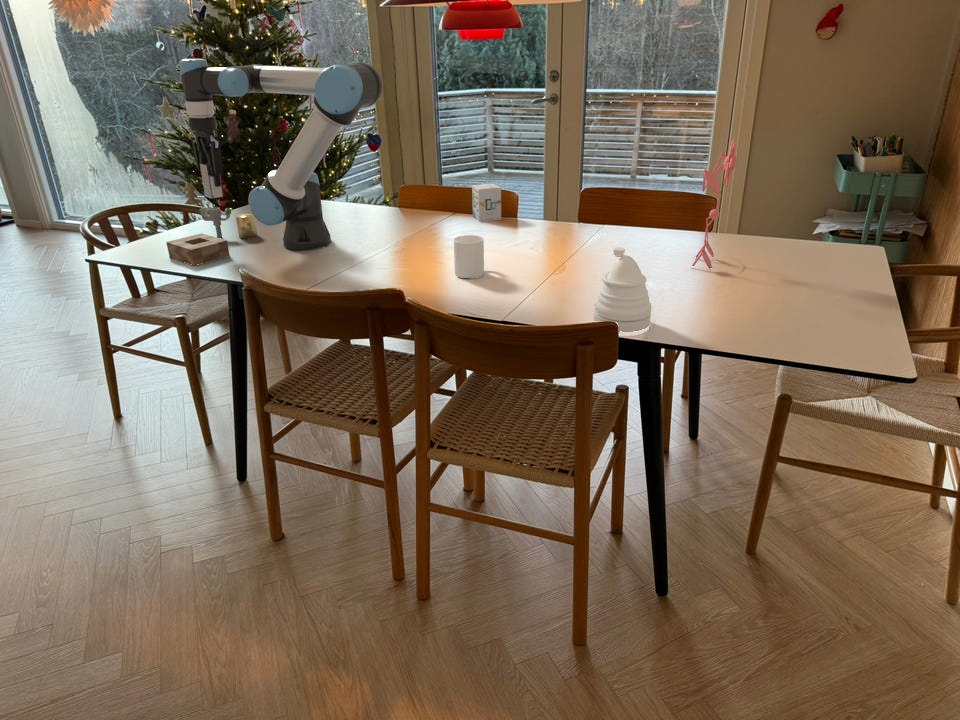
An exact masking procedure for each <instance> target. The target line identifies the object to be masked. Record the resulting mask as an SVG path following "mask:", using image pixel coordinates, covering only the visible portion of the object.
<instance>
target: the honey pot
mask: <svg viewBox="0 0 960 720" xmlns="http://www.w3.org/2000/svg"><path fill="white" fill-rule="evenodd" d="M612 249H613V255H614V256H615V257H616V258H618V259H617V260H616V262H614V264H613V265H612V267H611V269H610V270H609V271H607V272H605V273H603V274H602V275H601V277H600V278H601V282H603V284H602V287H600V290H599V293H598V295H597V298H596V300H595V303H594V308H593V309H594V311H593V321H614V322H617V323H618V325H619V332H620V331H622V332H633V331H639V330H642V329H645V328H647V327H648V326H649V325H650V326H651V316H652V314H651V313H652V303H651V302H650V296H649V291H648V289H647V286H646V283H647V277H646V275H644V274H643V273H642V271H641V269H640V267H639V265H638V263H637V262H636V260H635V259H634V258H633V257H631V256H630V255H625V252H626V248H625V247H620V246H617V247H613V248H612Z"/></svg>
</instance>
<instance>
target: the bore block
mask: <svg viewBox="0 0 960 720" xmlns="http://www.w3.org/2000/svg"><path fill="white" fill-rule="evenodd" d="M165 243H166V246H167V251H168V252H167V253H168V255H169V258H170V259H172V260H175V261H177V262H181V263H184V262H185V263H184V264H187V263H188V264H187V265H190V264H192V265H191V266H193V265H196V266H198V265H197V264H200V265H202V264H201V263H204V264H207V263H210V261H211V262H214V261H217V259H218V260H221V259H220V258H222V259H224V257H225V258H229V257H230V256H231V255H230V249H229V244H228V240H226V239H223V238H221V239H220V238H217V236H212V235H210V234H209V235H208V234H205V233H201V232H200V233H198V234H194V235H189V236H185V237H181V238H177V239H173V240H168V241H166V242H165ZM228 256H229V257H228ZM213 260H214V261H213ZM206 262H207V263H206Z"/></svg>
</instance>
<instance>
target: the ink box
mask: <svg viewBox="0 0 960 720" xmlns="http://www.w3.org/2000/svg"><path fill="white" fill-rule="evenodd" d="M471 190H472V191H471V192H472V193H471V194H472V199H471V200H472V201H471V202H472V217H473V218H474V219H476V221H478V222H479V223H481V222H491V221H501V220H502V188H501V187H500V186H499V185H497V184H495V183H492V182H491V183H483V184H482V183H481V184H472V185H471Z"/></svg>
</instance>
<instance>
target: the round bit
mask: <svg viewBox="0 0 960 720" xmlns="http://www.w3.org/2000/svg"><path fill="white" fill-rule="evenodd" d="M235 221H236V228H237V235H238V238H239V239H241V238H242V239H243V240H249V239H248V238H250V239H254V237H255V238H257V237H258V230H257V224H256V218H255V217H254V215H253V214H252V213H240V214H237V215H235Z"/></svg>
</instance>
